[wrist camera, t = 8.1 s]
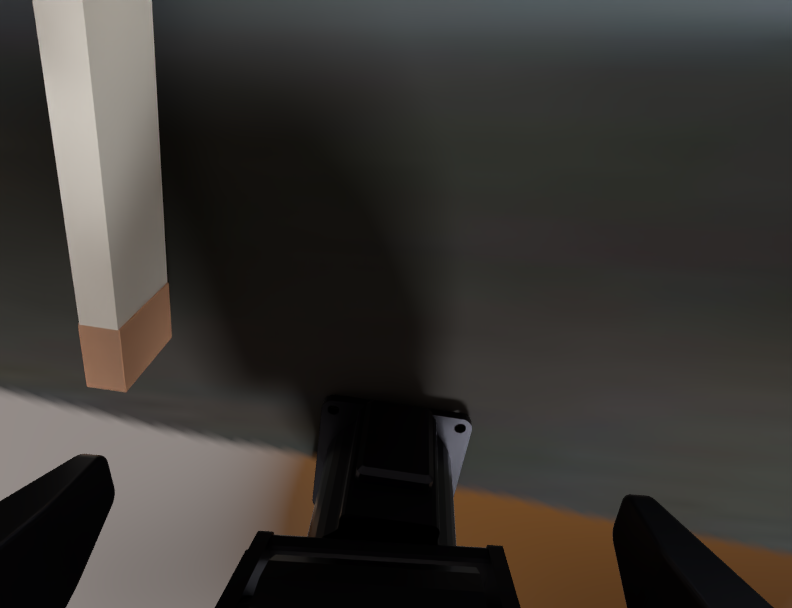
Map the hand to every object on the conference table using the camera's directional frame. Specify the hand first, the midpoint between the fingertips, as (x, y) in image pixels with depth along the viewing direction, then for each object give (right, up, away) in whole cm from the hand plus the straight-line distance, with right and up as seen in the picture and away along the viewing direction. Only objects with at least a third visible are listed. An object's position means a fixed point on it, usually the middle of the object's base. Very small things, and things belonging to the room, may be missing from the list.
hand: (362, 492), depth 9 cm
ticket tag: (-8, +9, +8) cm, 14 cm away
